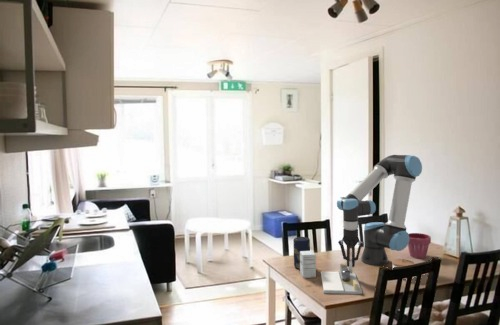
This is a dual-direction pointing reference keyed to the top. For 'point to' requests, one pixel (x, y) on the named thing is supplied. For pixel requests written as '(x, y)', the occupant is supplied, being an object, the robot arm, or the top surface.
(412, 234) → the plant pot
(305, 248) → the canister
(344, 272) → the arm
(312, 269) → the supplement box
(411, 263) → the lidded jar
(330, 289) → the door board
